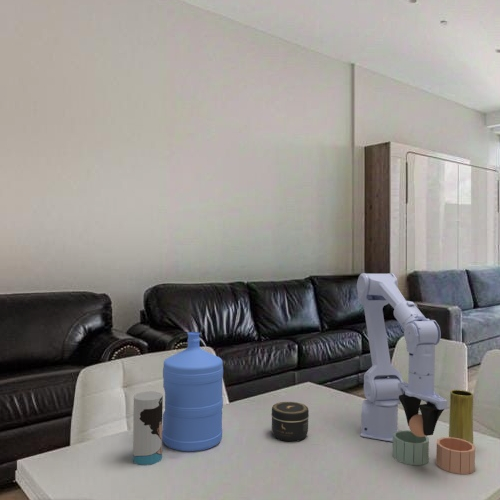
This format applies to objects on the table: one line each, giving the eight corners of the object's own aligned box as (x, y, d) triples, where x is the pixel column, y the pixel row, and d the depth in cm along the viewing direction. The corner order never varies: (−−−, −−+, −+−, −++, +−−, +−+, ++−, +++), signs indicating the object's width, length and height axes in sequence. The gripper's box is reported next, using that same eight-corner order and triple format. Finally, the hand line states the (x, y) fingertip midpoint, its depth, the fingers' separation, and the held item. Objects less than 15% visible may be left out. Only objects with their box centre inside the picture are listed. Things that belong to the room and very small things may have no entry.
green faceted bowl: (390, 460, 114) (391, 440, 114) (395, 447, 122) (395, 428, 122) (427, 467, 111) (427, 446, 111) (429, 453, 118) (429, 433, 118)
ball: (407, 438, 110) (407, 416, 110) (410, 430, 115) (410, 409, 115) (430, 442, 108) (430, 420, 108) (432, 434, 113) (432, 413, 113)
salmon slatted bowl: (435, 469, 110) (436, 447, 110) (437, 455, 118) (437, 435, 118) (474, 476, 107) (475, 454, 107) (474, 461, 114) (474, 441, 114)
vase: (476, 454, 118) (477, 397, 118) (450, 452, 119) (451, 395, 119) (470, 444, 124) (471, 390, 124) (445, 442, 125) (446, 388, 125)
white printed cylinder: (165, 461, 112) (166, 398, 112) (136, 467, 109) (137, 402, 109) (157, 450, 118) (158, 390, 118) (130, 455, 115) (130, 393, 115)
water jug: (234, 439, 125) (236, 333, 125) (187, 458, 114) (189, 341, 113) (196, 423, 136) (197, 325, 136) (149, 439, 125) (151, 332, 124)
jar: (265, 439, 126) (266, 410, 126) (278, 425, 135) (278, 399, 135) (302, 445, 122) (303, 415, 122) (312, 431, 132) (312, 403, 131)
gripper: (387, 365, 117) (386, 421, 117) (429, 382, 103) (428, 444, 103) (411, 363, 119) (410, 417, 119) (454, 379, 106) (453, 440, 106)
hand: (420, 430), depth 112 cm, fingers closed on ball, 5 cm apart
